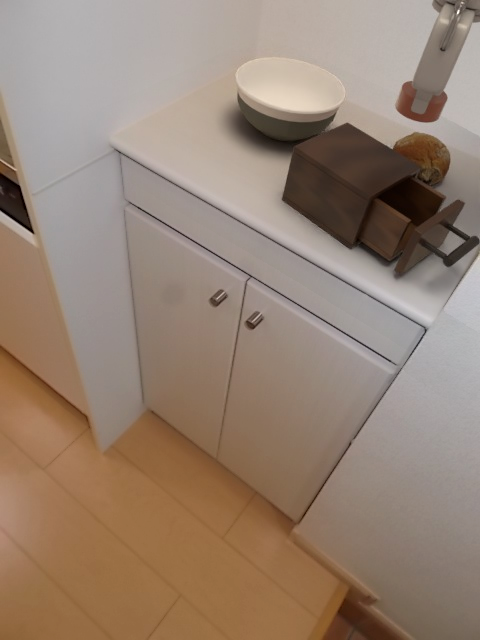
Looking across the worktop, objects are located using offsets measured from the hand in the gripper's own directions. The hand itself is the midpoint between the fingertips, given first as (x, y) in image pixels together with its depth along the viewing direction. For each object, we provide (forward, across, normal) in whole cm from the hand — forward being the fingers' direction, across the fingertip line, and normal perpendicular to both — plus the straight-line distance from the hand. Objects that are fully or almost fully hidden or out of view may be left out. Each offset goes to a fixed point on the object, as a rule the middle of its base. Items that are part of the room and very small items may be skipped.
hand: (422, 98), depth 68 cm
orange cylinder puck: (+2, 0, 0) cm, 2 cm away
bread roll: (+18, +13, -3) cm, 22 cm away
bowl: (+18, +13, +21) cm, 30 cm away
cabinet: (+17, -4, +5) cm, 19 cm away
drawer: (+16, -8, -5) cm, 19 cm away
